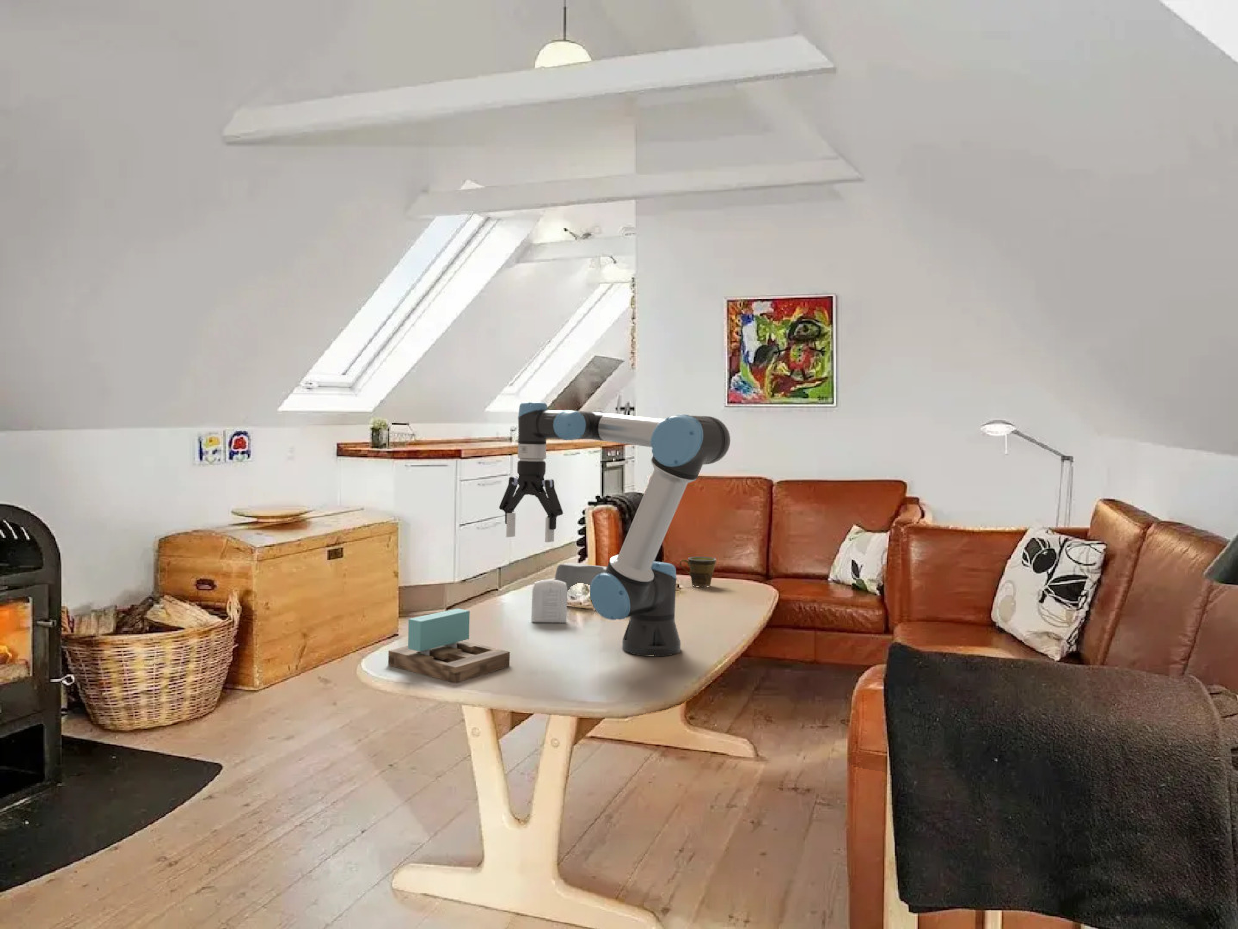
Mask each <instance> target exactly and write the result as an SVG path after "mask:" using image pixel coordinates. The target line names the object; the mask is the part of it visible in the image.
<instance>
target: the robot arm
mask: <svg viewBox="0 0 1238 929" xmlns="http://www.w3.org/2000/svg"><path fill="white" fill-rule="evenodd" d="M517 421H518V423H517V424H518V426H517V427H518V431H517V432H518V434H517V439H518V440H517V458H518V459H519V460H518V461H517V466H516V469H517V470H516V471H517V474H518V476H510V477H509V478H508V484H507V487H506V490H505V491H504V494H503V497H502V499H501V502H500V504H499V506H498V507H499V510H502V512H504V524H505V525H506V534H505V535H506V536H505V537H506V538H514V537H516V516H517V514H516V512H515V509H517V507H518V505H519V503H520V502H521V501H522V499H523V498H524V497H525V496H526V495H529V496H534V497H535V498H537V499H538V501H539V502H540V504H541V506H542V508H543V509H544V511H545V513H546V515H547V517H545V529H544V530H545V531H544V533H545V534H544V535H545V536H544V537H545V538H544V540H545V541H544V542H545V543H551V542H554V541H555V530H556V529H557V517H559V516H562V515H563V514H564V511H563V508H562V505H561V503H560V500H559V498H558V494H557V491H556V488H555V481H554V480H555V479H551V478H550V479H545V475H546V469H547V468H546V466H547V464H546V461H544V460H546V459H547V439H554V440H563V441H569V440H570V441H573V440H574V441H575V440H592V441H593V440H595V441H600V442H612V443H618V444H624V445H625V444H626V445H631V446H639V447H647V448H651V453H652V457H651V459H650V462H651V465H652V467H653V472H652V474H651V477H650V479H649V481H648V483H647V486H646V487H645V488H646V489H645V491H644V494H643V496H642V498H641V500H640V503H639V505H638V508H637V510H636V512H635V515H634V518H632V519H633V520H632V522H631V525H630V527H629V529H628V532H627V534H626V537H625V539H624V541H623V544H622V546H621V549H620V551H619V554H616V555H613V556H611V557H610V558H609V562H608V563H607V566H606V567H607V568H606V570H605V572H604V573H601V574H598V575H597V576H596V577H595V578H594V579H593V580H592V582H591V585H590V599H591V600H592V604H593V607H594V608H595V610H596V612H597V614H599V616H601V617H602V618H604V619H606V620H609V621H615V620H624V619H626V618H629V620H628V624H627V627H626V628H625V632H624V635H623V637H622V645H621V646H622V647H621V648H622V650H623V651H624V650H625V651H624V652H626V651H628V652H627V653H629V652H630V653H629V654H632V653H634V654H633V655H636V654H639V655H638V656H643V655H654V656H653V657H663V656H662V655H668V656H671V655H670V654H673V655H676V654H679V653H680V652H681V643H682V642H681V640H680V636H679V632H678V629H677V628H678V627H677V625H676V621H675V618H676V616H675V615H676V614H675V613H676V594H677V593H676V590H677V589H676V588H677V580H678V578H677V569H676V566H675V565H674V564H672V563H669V562H663V561H662V562H661V561H656V558H657V555H658V554H659V550H660V549H661V546H662V544H663V542H664V539H665V537H666V534H667V533H668V529H669V528H670V525H671V522H672V520H673V518H674V517H675V516H674V515H675V514H676V511H677V509H678V507H679V505H680V502H681V500H682V498H683V495H684V492H685V491H686V488H687V486H688V484H689V483H691V482H692V483H693V482H695V481H696V480H697V479H698V477H699V474H700V472H701V470H702V468H703V465H712V464H714V463H716V462H719V461H720V460H722V459H723V458H724V456H726V454H727V453H728V451H729V449H730V445H731V436H730V431H729V429H728V428H727V426H726V425H725V423H724V422H723V421H722V420H720V419H718V418H716V417H714V416H707V415H689V414H675V415H671V416H669V417H668V416H667V417H666V418H659V417H658V418H657V417H648V416H638V415H628V414H621V413H619V414H618V413H610V412H608V413H607V412H603V411H596V410H594V411H581V410H572V409H570V410H569V409H564V410H559V409H557V410H553V409H552V410H549V409H548V405H547V403H545V402H538V401H537V402H535V401H534V402H532V401H531V402H529V401H526V402H525V401H523V402H521V403H520V404H519V407H518V416H517ZM595 610H594V611H595ZM679 651H680V652H679ZM675 653H676V654H675Z"/></svg>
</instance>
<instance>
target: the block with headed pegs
mask: <svg viewBox="0 0 1238 929" xmlns="http://www.w3.org/2000/svg"><path fill="white" fill-rule="evenodd" d="M470 615H471V614H470V610H467V609H461V608H454V609H449V610H444V611H439V612H434V613H430V614H425V615H421V616H416V617H412V618H408V624H407V625H408V632H407V633H408V635H407V636H408V638H407V639H408V640H407V642H408V643H407V646H408V649H411V650H415V651H419V652H421V654H424V655H428V656H429V653H430V649H432V648H436V647H440V646H444V645H448V644H449V647H453V648H457V642H460V641H466V640H467V641H468V640H469V639H470Z"/></svg>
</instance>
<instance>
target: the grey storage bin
mask: <svg viewBox="0 0 1238 929" xmlns="http://www.w3.org/2000/svg"><path fill="white" fill-rule="evenodd" d="M606 568H607V566H605V565H603V566H602V565H593V564H587V563H586V564H585V563H577V562H570V561H569V562H565V563H561V564H559V565H558V566H557V567H556V570H555V575H554V579H553V580H559V581H562V582H565V583H566V586H567V591H568V590H569V589H570V587H571V586H573V585H575V584H577V583H584V584H588V585H591V582H592V580H593V579H594V578H595V577H596V576H597V575H598V574H601V573H604V572H605V570H606Z"/></svg>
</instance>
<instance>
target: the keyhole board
mask: <svg viewBox="0 0 1238 929" xmlns="http://www.w3.org/2000/svg"><path fill="white" fill-rule="evenodd" d="M510 655H511V654H510V651H509V650H503V649H499V648H496V647H491V646H485V645H482V644H478V643H473V642H468V641H466V640H463V641H460V642H457V648H453V647H449V644H448V645H444V646H440V647H436V648H432V649H430V653H429V656H428V655H424V654H421V652H419V651H415V650H411V649H408V645H406V646H400V647H398V648H397V647H396V648H393V649H390V650H388V655H387V656H388V657H387V660H388V661H387V662H388V663H387V665H388V666H389V665H390V667H393V668H398V669H401V670H404V669H405V671H408V670H409V671H408V672H413V673H417V674H420V675H424V676H427V677H430V678H435V679H439V680H442V681H445V682H449V683H450V682H451V683H454V684H457V683H459V682H463V681H466V680H469V679H473V678H476V677H479V676H482V675H486V674H488V673H492V672H495V671H498V670H501V669H506V668H508V667H510V664H511V663H510V658H511V656H510Z"/></svg>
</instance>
